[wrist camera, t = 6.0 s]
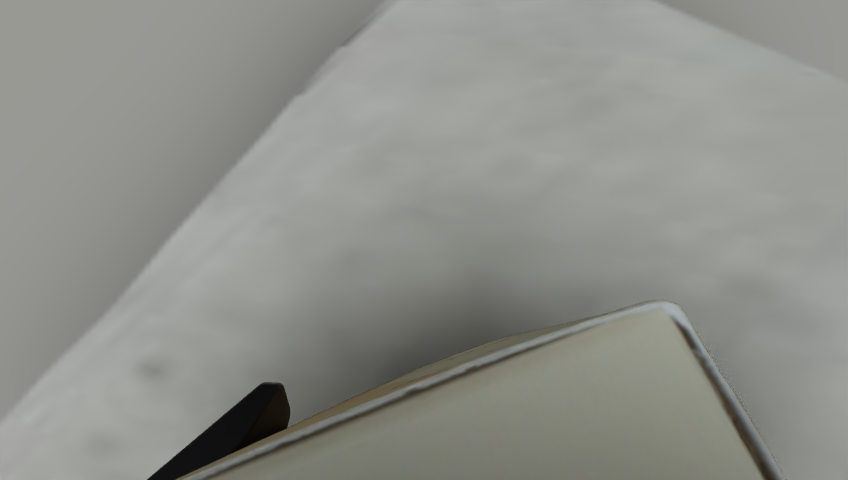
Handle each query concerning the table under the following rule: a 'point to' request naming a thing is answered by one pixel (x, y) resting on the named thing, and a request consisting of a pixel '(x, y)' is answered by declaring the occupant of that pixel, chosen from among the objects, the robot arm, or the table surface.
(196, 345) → the table surface
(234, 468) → the skincare box
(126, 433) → the table surface
